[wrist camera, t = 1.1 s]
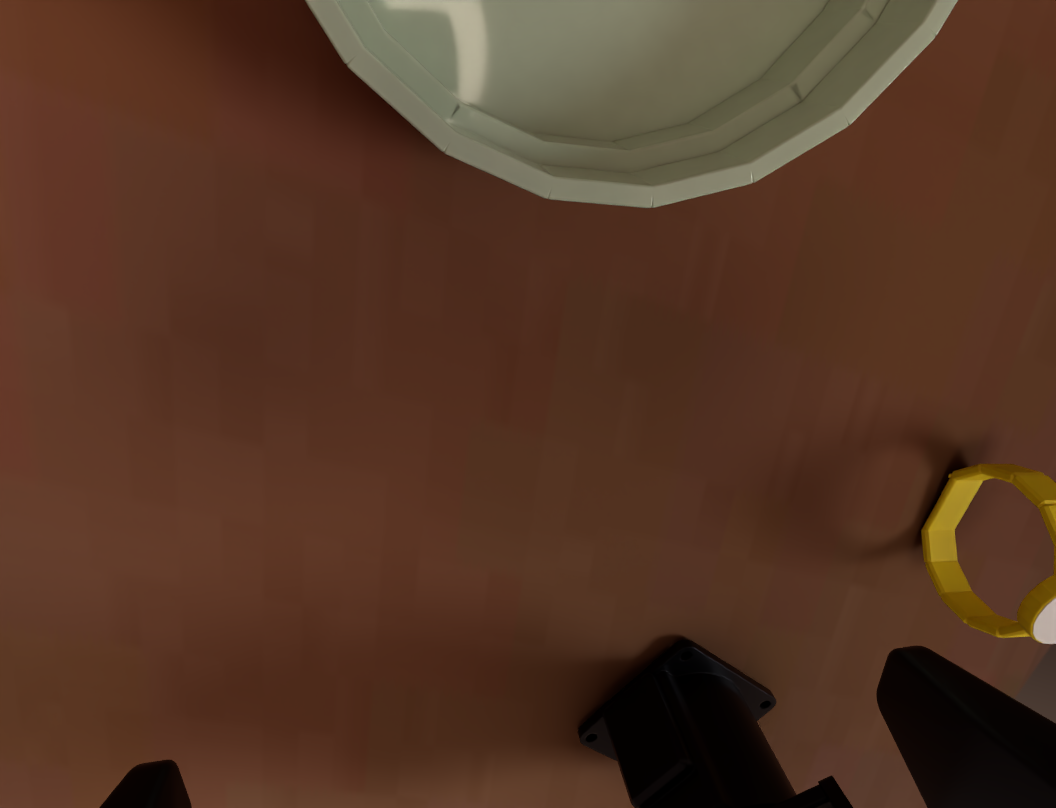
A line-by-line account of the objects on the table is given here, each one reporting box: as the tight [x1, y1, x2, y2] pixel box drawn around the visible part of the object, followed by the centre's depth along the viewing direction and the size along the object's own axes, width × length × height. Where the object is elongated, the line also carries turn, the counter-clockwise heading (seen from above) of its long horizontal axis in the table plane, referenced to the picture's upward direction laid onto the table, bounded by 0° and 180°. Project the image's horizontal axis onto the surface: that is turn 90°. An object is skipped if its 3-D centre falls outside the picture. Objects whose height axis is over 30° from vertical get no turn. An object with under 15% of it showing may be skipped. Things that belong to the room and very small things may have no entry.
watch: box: [921, 464, 1056, 644], centre depth 25 cm, size 6×3×6 cm, turn 173°
